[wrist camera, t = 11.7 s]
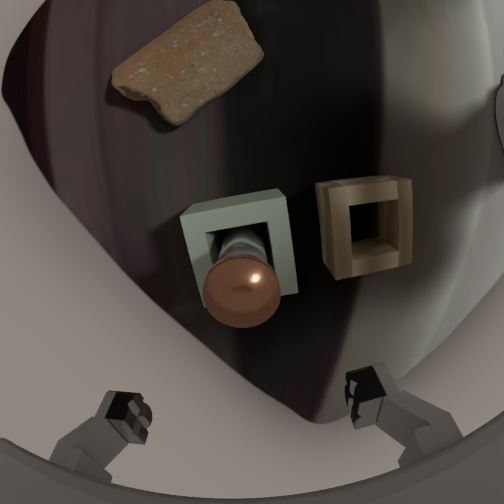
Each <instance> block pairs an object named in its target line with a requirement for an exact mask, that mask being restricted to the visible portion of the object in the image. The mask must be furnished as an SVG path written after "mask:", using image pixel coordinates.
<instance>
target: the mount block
mask: <svg viewBox="0 0 504 504" xmlns="http://www.w3.org/2000/svg"><path fill="white" fill-rule="evenodd" d="M315 189H316V197H317V205H318V214H319V223H320V232H321V243H322V254H323V262H324V264H325V265H326V266H327V268H328V269H329V271H330V272H331V274H332V275H333V277H334V278H335V280H340V279H345V278H350V277H355V276H359V275H364V274H369V273H373V272H378V271H383V270H387V269H391V268H396V267H400V266H404V265H409V264H412V246H413V199H412V180H411V179H407V178H402V177H398V176H393V175H379V176H369V177H359V178H350V179H342V180H334V181H326V182H318V183H315ZM372 202H377V209H378V234H379V237H375V238H369V239H363V240H358V241H352V242H351V227H350V214H349V206H350V205H357V204H365V203H372Z"/></svg>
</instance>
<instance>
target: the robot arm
mask: <svg viewBox="0 0 504 504" xmlns="http://www.w3.org/2000/svg"><path fill="white" fill-rule="evenodd" d="M496 120H497V126H498V131H499V136H500V139H501V143H502V146H503V148H504V77H503V85H502V86H501V88H500V89H499V91H498V93H497V97H496ZM345 379H346V382H347V384H346V385H345V390H344V393H345V400H346V404H347V407H348V408H349V409H350V410H351V416H350V417H351V420H352V423H353V426H354V428H355V429H359V428H362V427H366V426H370V425H373V424H376V426H378V427H379V428H380V429H381V430H383V431H384V432H386V433H387V434H388V435H389V436H391V437H392V438H393V439H395V440H396V441H398V442H399V443H400V444H402V445H403V446H404V447H406V448H405V450H404V452H403V454H402V455H401V457H400V458H399V460H398V463H399V466H400V468H398V469H395V470H392V471H390V472H387V473H384V474H381V475H378V476H375V477H372V478H368V479H365V480H362V481H358V482H354V483H351V484H347V485H343V486H338V487H334V488H330V489H325V490H319V491H314V492H308V493H302V494H295V495H287V496H277V497H265V498H246V499H217V498H215V499H214V498H198V497H197V498H196V497H186V496H176V495H169V494H162V493H155V492H150V491H144V490H139V489H134V488H130V487H125V486H121V485H117V484H114V483H111V480H112V476H111V474H110V473H108V472H107V471H106V470H105V469H104V468H105V467H106V466H107V465H108V464H109V463H110V462H111V461H112V460H113V459H114V458H115V457H116V456H117V455H118V454H119V453H120V452H121V451H122V450H123V449H124V448H125V447H126V445H128V443H133V444H143V445H145V442H146V439H147V436H148V431H147V429H146V428H148V427H149V426H150V425H151V422H152V412H151V409H150V407H149V406H148V405H147V404H146V403H144V402H143V399H144V398H143V397H142V395H141V394H140V393H132V392H120V391H108V392H107V393H106V395H105V397H104V399H103V401H102V403H101V405H100V407H99V409H98V411H97V413H96V415H95V417H91V418H89V419H88V420H87V421H85V422H84V423H83V424H81V425H80V426H78V427H77V428H76V429H74V430H73V431H71V432H70V433H68V434H67V435H66V436H64V437H63V438H61V439H60V440H58V442H57V444H56V446H55V448H54V450H53V453H52V455H51V457H50V459H49V461H48V460H46V459H44V458H42V457H39V456H37V455H35V454H33V453H31V452H29V451H27V450H25V449H23V448H22V447H20V446H17V445H16V444H14V443H13V442H11V441H9V440H7V439H5V438H0V504H504V411H503V412H501V413H500V414H499V415H497V416H496V417H494V418H493V419H492V420H490V421H489V422H487V423H486V424H484V425H483V426H481V427H479V428H478V429H476V430H475V431H473V432H472V433H470V434H468V435H467V436H465V437H463V436H462V434H461V432H460V430H459V428H458V426H457V425H456V423H455V421H454V419H453V418H452V416H451V414H450V413H449V412H447V411H444V410H442V409H440V408H438V407H436V406H434V405H432V404H430V403H428V402H426V401H424V400H422V399H420V398H418V397H416V396H414V395H412V394H410V393H408V392H406V391H405V390H403V391H400V390H399V388H398V386H397V384H396V382H395V380H394V378H393V376H392V375H391V373H390V371H389V369H388V367H387V365H386V364H385V363H384V362H382V363H379V364H375V365H372V366H368V367H364V368H361V369H357V370H353V371H349V372H346V376H345Z"/></svg>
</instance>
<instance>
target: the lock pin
mask: <svg viewBox="0 0 504 504" xmlns="http://www.w3.org/2000/svg"><path fill="white" fill-rule="evenodd" d="M202 293H203V301H204V304H205V306H206V308H207V310H208V311H209V313H210V314H211V315H212V316H213V317H214V318H215V319H216V320H218V321H219V322H221V323H223V324H225V325H228V326H232V327H237V328H247V327H253V326H256V325H259V324H261V323H263V322H265V321H266V320H267V319H269V318H270V317H271V316H272V315H273V314H274V312H275V311H276V309H277V308H278V305H279V303H280V298H281V289H280V285H279V281H278V277H277V275H276V273H275V271H274V269H273V268H272V267H271V266H270V265H269V264H268V263H267V258H266V252H265V247H264V242H263V237H262V232H261V229H260V227H259V226H258V225H257V224H256V223H254V224H249V225H243V226H237V227H232V228H227V230H226V233H225V236H224V240H223V244H222V248H221V251H220V255H219V259H218V261H217V262H216V263H215V264H214V265H213V266H212V267H211V269H210V270H209V272H208V274H207V276H206V279H205V282H204V286H203V292H202Z"/></svg>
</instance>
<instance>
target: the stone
mask: <svg viewBox="0 0 504 504" xmlns="http://www.w3.org/2000/svg"><path fill="white" fill-rule="evenodd" d="M263 56H264V53H263V51H262V49H261V47H260V46H259V45H258V44H257V43H256V41H255V40H254V36H253V35H252V32H251V31H250V29H249V28H248V23H247V22H246V21H245V19H244V17H243V16H242V15H241V13H240V9H239V7H238V6H237V4H236V3H235V2H233V1H222V0H212V1H209V2H207V3H206V4H204V5H203V6H201V7H199V8H197V9H195V10H194V11H192V12H191V13H189V14H188V15H187V16H185V17H184V18H182V19H181V20H180V21H178V22H177V23H176V24H175V25H173V26H172V27H170V28H169V29H168V30H167V31H165V32H164V33H163V34H161V35H160V36H159V37H157V38H156V39H154V40H152V41H151V42H150V43H148V44H147V45H145V46H144V47H143V48H141V49H140V50H139V51H138V52H136V53H135V54H133V55H132V56H130V57H129V58H128V59H126V60H125V61H124V62H122V63H121V64H120V65H118V66H117V67H116V68H115V69H114V70H113V71H112V80H111V84H112V85H113V87H114V88H115V89H117V90H118V91H119V92H120V93H121V94H122V95H124V96H126V97H127V98H130V99H132V100H134V101H144V100H148V101H149V102H150V103H151V104H152V105H153V106H154V107H155V109H156V110H157V112H158V113H159V114H160V115H161V116H162V117H163V119H164V120H165V121H167V122H168V123H170V124H171V125H174V126H179V125H181V124H183V123H184V122H185V121H187V120H188V119H189V118H190V117H191V116H192V115H193V113H195V112H196V111H197V110H198V109H199V108H201V107H202V106H204V105H206V104H207V103H209V102H210V101H212V100H213V99H215V98H216V97H218V96H220V95H222V94H223V93H225V92H226V91H228V90H229V89H230V88H231V87H233V86H234V85H235V84H236V83H237V82H238V81H239V80H241V79H242V78H243V77H244V76H245V75H246V74H247V73H248V72H249V71H251V70H252V69H253V68H254V67H255V66H256V65H257V64H258V63H259V62H260V61H261V60H262V58H263Z"/></svg>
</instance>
